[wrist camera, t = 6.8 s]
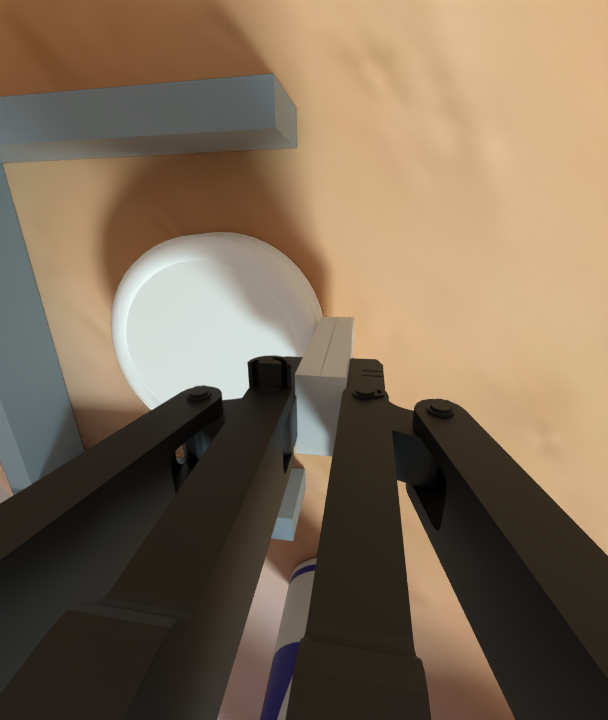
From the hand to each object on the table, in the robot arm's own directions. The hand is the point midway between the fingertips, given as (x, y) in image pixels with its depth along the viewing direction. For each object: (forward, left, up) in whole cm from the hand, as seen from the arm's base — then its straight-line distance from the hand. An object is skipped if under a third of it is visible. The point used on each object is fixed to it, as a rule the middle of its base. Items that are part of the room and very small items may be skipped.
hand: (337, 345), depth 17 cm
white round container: (0, +6, -2) cm, 6 cm away
